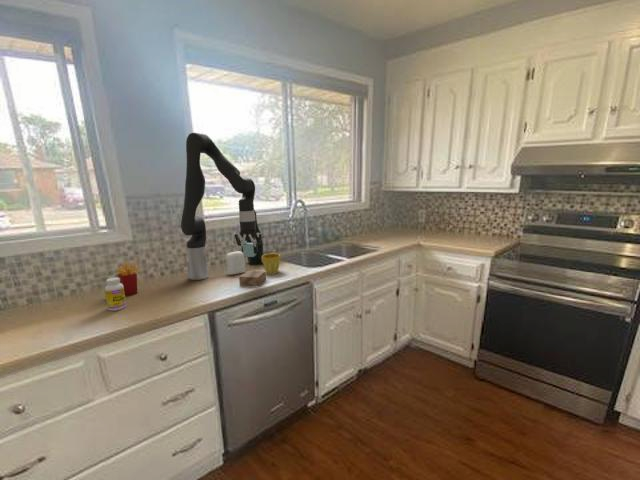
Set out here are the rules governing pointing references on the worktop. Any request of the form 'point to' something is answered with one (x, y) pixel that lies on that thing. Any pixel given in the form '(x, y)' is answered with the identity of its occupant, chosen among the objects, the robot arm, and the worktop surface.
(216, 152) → the robot arm
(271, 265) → the plant pot
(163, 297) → the worktop surface
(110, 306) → the supplement bottle
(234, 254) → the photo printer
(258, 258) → the beer bottle
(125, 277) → the french fries
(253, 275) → the walnut block
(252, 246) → the teal block
